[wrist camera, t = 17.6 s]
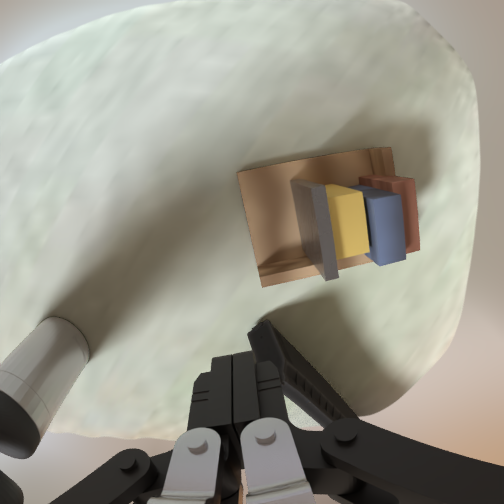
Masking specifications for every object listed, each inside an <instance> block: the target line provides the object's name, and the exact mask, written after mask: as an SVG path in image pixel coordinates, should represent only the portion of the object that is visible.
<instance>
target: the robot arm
mask: <svg viewBox="0 0 504 504" xmlns="http://www.w3.org/2000/svg"><path fill="white" fill-rule="evenodd" d="M88 359H89V347H88V344H87V341H86V340H85V338H84V336H83V335H82V333H81V332H80V331H79V330H78V329H77V328H76V327H75V326H74V325H73V324H71V323H70V322H68V321H66V320H64V319H62V318H58V317H50V318H47V319H45V320H43V321H42V322H41V323H40V324H39V325H38V326H37V327H36V328H35V329H34V330H33V331H32V332H31V333H30V334H29V335H28V336H27V337H26V338H25V339H24V340H23V341H22V342H21V343H20V344H19V345H18V346H17V347H16V348H15V349H14V350H13V351H12V352H11V353H10V354H9V355H8V357H7V358H6V359H5V360H4V361H3V362H2V363H1V364H0V452H1V453H3V454H5V455H8V456H10V457H13V458H18V459H27V458H29V457H30V456H32V455H33V453H34V452H35V450H36V449H37V447H38V445H39V443H40V441H41V439H42V437H43V436H44V434H45V432H46V430H47V429H48V427H49V425H50V423H51V421H52V420H53V418H54V416H55V415H56V413H57V411H58V409H59V408H60V406H61V404H62V403H63V401H64V399H65V398H66V396H67V394H68V393H69V391H70V389H71V388H72V386H73V385H74V383H75V381H76V380H77V378H78V376H79V375H80V373H81V372H82V370H83V369H84V367H85V365H86V364H87V362H88ZM191 402H192V403H191V406H190V413H189V420H188V427H187V432H185V433H184V434H182V435H181V436H180V437H179V438H178V439H177V441H176V443H175V445H174V449H173V450H171V451H168V452H166V453H162V454H159V455H156V456H152V457H149V456H148V455H147V453H145V452H144V451H142V450H140V449H126V450H123V451H121V452H119V453H118V454H116V455H115V456H113V457H112V458H111V459H109V460H108V461H107V462H106V463H104V464H103V465H102V466H101V467H99V468H98V469H96V470H95V471H94V472H92V473H91V474H90V475H88V476H87V477H86V478H84V479H83V480H82V481H80V482H79V483H77V484H76V485H75V486H73V487H72V488H70V489H69V490H68V491H67V492H65V493H63V494H62V495H61V496H59V497H58V498H56V499H55V500H53V501H52V502H51V503H50V504H129V503H131V502H132V501H133V502H134V503H133V504H243V485H242V483H241V469H245V473H246V480H247V486H248V494H247V495H246V504H316V502H315V499H314V496H313V494H328V496H329V497H330V498H332V499H333V500H335V501H337V502H339V503H341V504H504V466H500V465H496V464H492V463H488V462H484V461H480V460H477V459H473V458H469V457H466V456H462V455H459V454H456V453H452V452H449V451H445V450H442V449H439V448H436V447H433V446H430V445H427V444H424V443H421V442H418V441H415V440H413V439H410V438H407V437H404V436H401V435H399V434H396V433H393V432H390V431H388V430H385V429H383V428H380V427H377V426H375V425H372V424H370V423H367V422H365V421H362V420H360V419H356V418H343V419H339V420H336V421H334V422H332V423H330V424H329V425H327V426H326V427H325V428H324V430H323V431H306V430H302V429H299V428H297V427H295V426H294V425H293V424H292V423H291V422H290V421H289V419H288V414H287V409H286V404H285V400H284V395H283V390H282V386H281V381H280V377H279V372H278V368H277V367H276V366H275V365H274V364H273V363H272V362H271V361H265V362H260V363H257V362H256V358H255V354H254V351H253V350H251V351H246V352H241V353H236V354H233V355H232V354H231V355H226V356H220V357H214V358H212V363H211V372H206V373H201V374H200V375H199V377H198V378H197V379H196V381H195V382H194V386H193V395H192V399H191ZM23 502H24V496H23V492H22V490H21V488H20V487H19V486H18V485H17V484H16V483H15V482H14V481H13V480H12V479H10V478H9V477H8V476H7V475H6V474H4V473H3V472H2V471H1V470H0V504H23Z"/></svg>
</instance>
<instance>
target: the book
mask: <svg viewBox="0 0 504 504" xmlns="http://www.w3.org/2000/svg"><path fill="white" fill-rule="evenodd" d="M325 188H326V193H327V199H328V205H329V211H330V218H331V224H332V231H333V237H334V244H335V252H336V259H337V260H339V259H343V258H347V257H351V256H356V255H360V254H364V253H368V252H370V250H369V240H368V231H367V223H366V215H365V208H364V200H363V193H362V192H361V191H358V190H354V189H350V188H346V187H343V186H339V185H335V184H329V185H325Z"/></svg>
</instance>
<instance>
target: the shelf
mask: <svg viewBox="0 0 504 504" xmlns="http://www.w3.org/2000/svg"><path fill="white" fill-rule="evenodd" d="M237 176H238V181H239V185H240V190H241V194H242V199H243V203H244V208H245V212H246V217H247V221H248V226H249V230H250V235H251V240H252V244H253V249H254V253H255V258H256V262H257V267H258V271H259V276H260V281H261V285H262V288H263V287H267V286H272V285H276V284H281V283H285V282H289V281H294V280H298V279H303V278H307V277H311V276H315V275H320V273H319V271H318V270H317V269H316V267H315V266H314V265H313V263H312V262H311V260H310V259H309V258H308V256H307V255H306V254H305V252H304V251H303V249H302V244H301V238H300V232H299V227H298V221H297V216H296V211H295V205H294V200H293V195H292V190H291V185H290V180H295V179H304V180H307V181H311V182H315V183H318V184H322V185H329V184H335V185H339V186H343V187H346V188H350V189H354V190H358V191H361V192H362V193H363V200H364V208H365V215H366V223H367V231H368V240H369V250H370V252H368V253H364V254H360V255H356V256H351V257H347V258H343V259H339V260H337V267H338V270H341V269H345V268H349V267H353V266H357V265H361V264H365V263H369V262H373V261H374V262H375V263H376V264H377V265H379V266H383V265H387V264H390V263H394V262H398V261H402V260H406V254H407V253H411V252H415V251H419V250H420V237H419V222H418V210H417V200H416V190H415V182H414V179H411V178H405V177H398V176H395V169H394V162H393V156H392V150H391V147H385V148H381V147H379V148H370V149H363V150H356V151H349V152H343V153H336V154H330V155H324V156H318V157H312V158H307V159H301V160H296V161H290V162H285V163H280V164H275V165H270V166H265V167H260V168H255V169H250V170H246V171H241V172H237Z"/></svg>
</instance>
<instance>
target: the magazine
mask: <svg viewBox="0 0 504 504" xmlns="http://www.w3.org/2000/svg"><path fill="white" fill-rule="evenodd" d="M247 335H248V338H249V341H250V345H251V348H252V350H253V351H254V354H255V358H256V362H257V363H260V362H265V361H271V362H272V363H273V364H274V365H275V366H276V367H277V368H278V372H279V377H280V381H281V386H282V390H283V394H284V395H285V396H286V397H288V398H289V399H290V400H291V401H293V402H294V403H295V404H297V405H298V406H299V407H300V408H301V409H302V410H304V411H305V412H306V413H307V414H308V415H309V416H311V417H312V418H313V419H314V420H315V421H316V422H318V423H319V424H320V425H321V426H322V427H323V428H325V427H326V426H327V425H329V424H330V423H332V422H334V421H336V420H339V419H343V418H356V419H359V418H358V417H357V416H356V414H355V413H354V412H353V411H352V410H351V409H350V407H349V406H348V405H347V404H346V403H345V402H344V400H343V399H342V398H341V397H340V396H339V395H338V394H337V393H336V391H335V390H334V389H333V388H332V387H331V386H330V385H329V384H328V383H327V382H326V380H325V379H324V378H323V377H322V376H321V375H320V374H319V373H318V372H317V371H316V370H315V369H314V368H313V367H312V366H311V365H310V363H309V362H308V361H307V360H306V359H305V358H304V357H303V356H302V355H301V354H300V353H299V352H298V351H297V350H296V349H295V348H294V347H293V346H292V345H291V344H290V343H289V342H288V341H287V340H286V339H285V338H284V337H283V336H282V335H281V334H280V333H279V332H278V331H277V330H276V329H275V328H274V327H273V326H272V325H271V322H270V321H269V320H265V321H264V322H263V323H262V322H261V323H259V324H258V325H256V326H255V327H253V328H252V330H251V331H250V332H248V334H247Z"/></svg>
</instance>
